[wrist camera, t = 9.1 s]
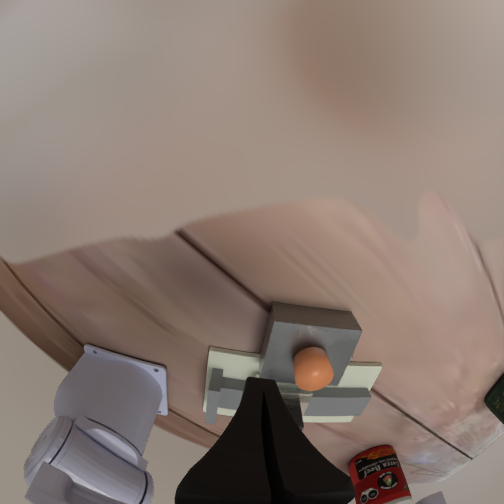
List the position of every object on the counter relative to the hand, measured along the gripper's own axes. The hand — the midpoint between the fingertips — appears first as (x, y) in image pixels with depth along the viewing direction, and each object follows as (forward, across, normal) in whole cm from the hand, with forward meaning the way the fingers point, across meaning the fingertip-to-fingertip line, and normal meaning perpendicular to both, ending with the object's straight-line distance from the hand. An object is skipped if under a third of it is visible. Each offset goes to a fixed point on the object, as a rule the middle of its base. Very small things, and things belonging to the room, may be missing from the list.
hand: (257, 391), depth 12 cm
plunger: (+7, -5, +3) cm, 9 cm away
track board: (+10, -5, +10) cm, 15 cm away
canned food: (+10, -23, +26) cm, 36 cm away
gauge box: (+10, -5, +3) cm, 12 cm away
